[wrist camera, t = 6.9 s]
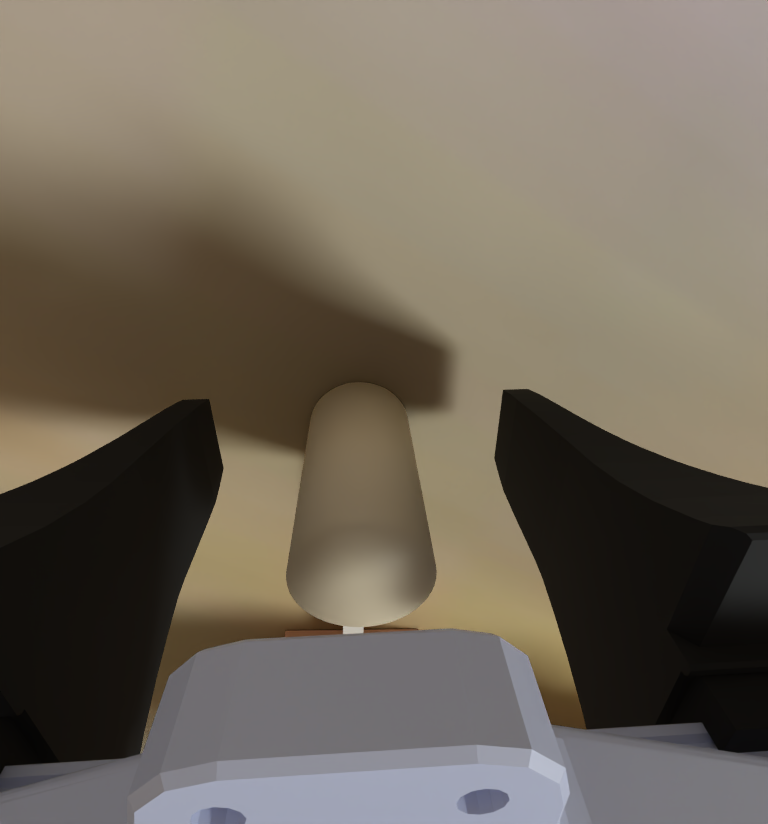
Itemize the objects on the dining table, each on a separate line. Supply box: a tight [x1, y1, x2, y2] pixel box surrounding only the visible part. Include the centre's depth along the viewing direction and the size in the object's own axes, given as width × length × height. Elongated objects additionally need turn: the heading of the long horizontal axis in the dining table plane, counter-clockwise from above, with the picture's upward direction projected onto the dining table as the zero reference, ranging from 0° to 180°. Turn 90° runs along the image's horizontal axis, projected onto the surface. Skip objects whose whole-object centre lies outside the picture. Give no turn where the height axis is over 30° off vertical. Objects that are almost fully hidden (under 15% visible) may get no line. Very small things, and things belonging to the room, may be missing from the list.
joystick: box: [285, 382, 436, 637], centre depth 14 cm, size 5×15×6 cm, turn 177°
